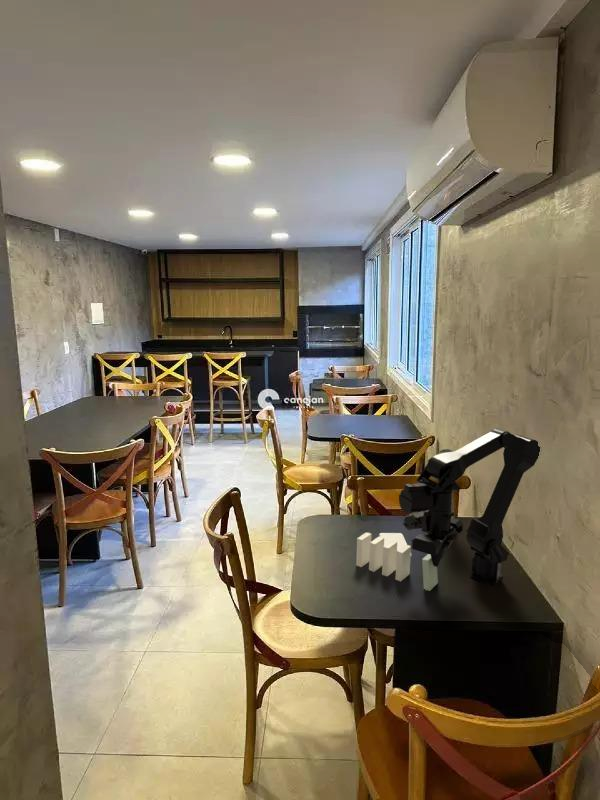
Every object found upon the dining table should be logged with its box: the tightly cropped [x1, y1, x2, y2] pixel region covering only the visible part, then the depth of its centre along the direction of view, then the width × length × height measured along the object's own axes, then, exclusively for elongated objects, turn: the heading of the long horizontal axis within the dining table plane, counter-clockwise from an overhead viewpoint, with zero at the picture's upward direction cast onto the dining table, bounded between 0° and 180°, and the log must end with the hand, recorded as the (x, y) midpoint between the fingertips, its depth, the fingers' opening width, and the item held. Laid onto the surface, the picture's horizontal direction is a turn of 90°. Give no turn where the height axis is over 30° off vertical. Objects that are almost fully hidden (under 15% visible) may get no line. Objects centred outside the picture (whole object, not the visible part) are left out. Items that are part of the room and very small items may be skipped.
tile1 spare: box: [421, 554, 439, 592], centre depth 136 cm, size 2×5×8 cm, turn 142°
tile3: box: [381, 540, 397, 577], centre depth 143 cm, size 2×5×8 cm, turn 142°
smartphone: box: [378, 532, 413, 557], centre depth 160 cm, size 7×1×15 cm
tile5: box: [355, 531, 373, 568], centre depth 148 cm, size 2×5×8 cm, turn 142°
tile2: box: [394, 544, 412, 582], centre depth 140 cm, size 2×5×8 cm, turn 143°
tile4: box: [368, 535, 384, 573], centre depth 145 cm, size 2×5×8 cm, turn 142°
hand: (436, 565), depth 135 cm, fingers closed
